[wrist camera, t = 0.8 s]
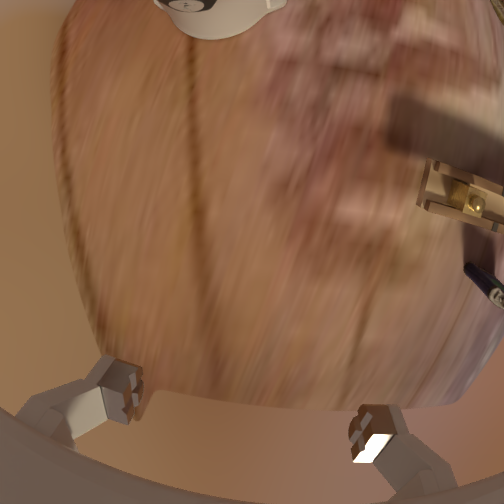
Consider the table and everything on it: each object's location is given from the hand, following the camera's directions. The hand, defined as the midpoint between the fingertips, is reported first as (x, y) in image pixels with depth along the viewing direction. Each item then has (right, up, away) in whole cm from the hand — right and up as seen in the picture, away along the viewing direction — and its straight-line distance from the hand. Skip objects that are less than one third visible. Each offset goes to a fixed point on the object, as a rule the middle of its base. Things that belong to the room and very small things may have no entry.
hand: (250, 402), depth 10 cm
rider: (+25, +12, +20) cm, 35 cm away
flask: (+40, +1, +32) cm, 52 cm away
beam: (+33, +15, +27) cm, 45 cm away
